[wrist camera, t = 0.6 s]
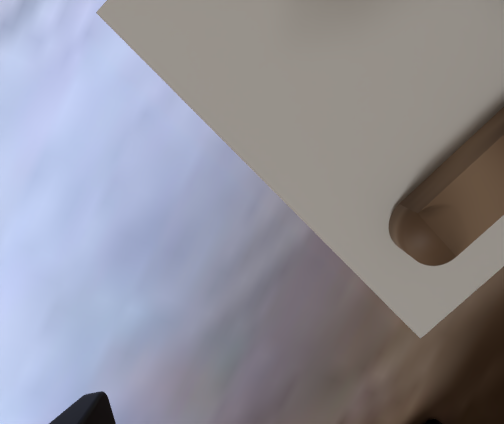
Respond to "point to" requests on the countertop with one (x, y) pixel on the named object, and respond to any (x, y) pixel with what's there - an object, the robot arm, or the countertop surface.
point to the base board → (341, 114)
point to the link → (454, 200)
